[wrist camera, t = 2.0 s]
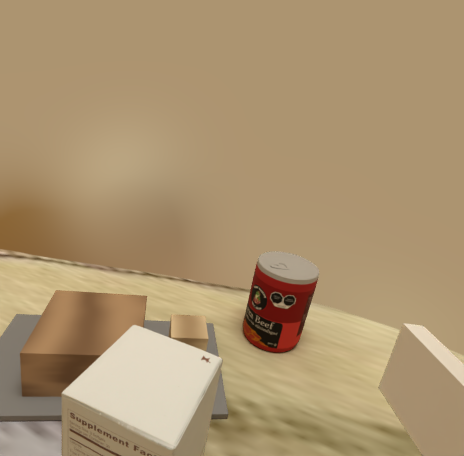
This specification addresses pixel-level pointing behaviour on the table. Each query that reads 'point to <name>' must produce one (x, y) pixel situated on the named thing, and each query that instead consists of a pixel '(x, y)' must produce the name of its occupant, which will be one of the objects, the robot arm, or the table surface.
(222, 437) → the table surface
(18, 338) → the slate mat
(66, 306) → the walnut block
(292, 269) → the canned food
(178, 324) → the maple cube
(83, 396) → the supplement box
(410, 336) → the robot arm
